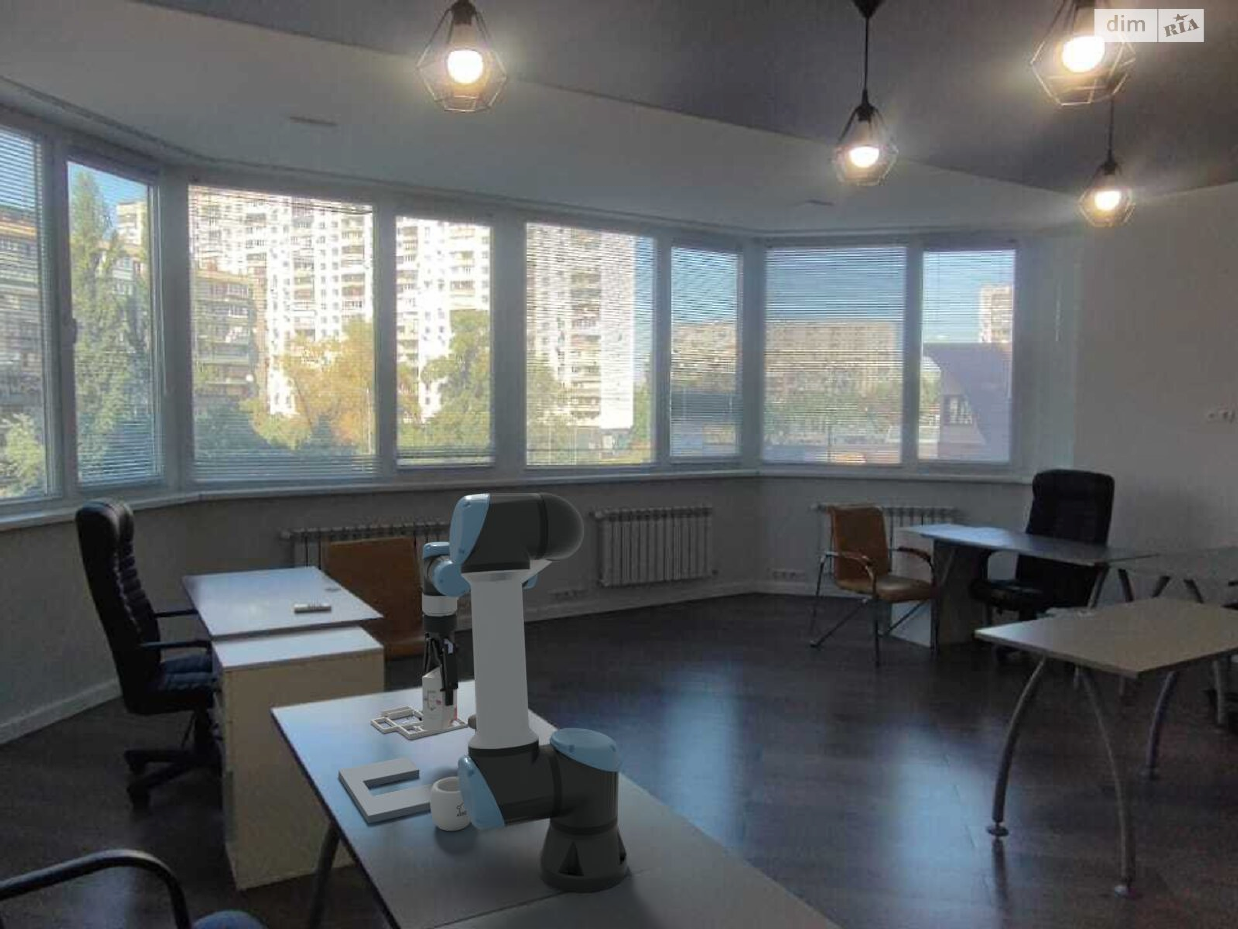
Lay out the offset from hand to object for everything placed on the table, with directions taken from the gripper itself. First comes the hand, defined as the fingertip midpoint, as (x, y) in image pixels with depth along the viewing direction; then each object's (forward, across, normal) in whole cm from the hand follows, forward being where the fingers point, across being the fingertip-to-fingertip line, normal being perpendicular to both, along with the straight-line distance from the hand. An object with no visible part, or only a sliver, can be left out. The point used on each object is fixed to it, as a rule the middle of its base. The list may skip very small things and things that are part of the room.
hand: (439, 712), depth 191 cm
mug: (+12, -29, +6) cm, 32 cm away
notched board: (+11, -9, +14) cm, 20 cm away
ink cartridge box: (+3, 0, 0) cm, 3 cm away
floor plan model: (+11, +26, 0) cm, 28 cm away
